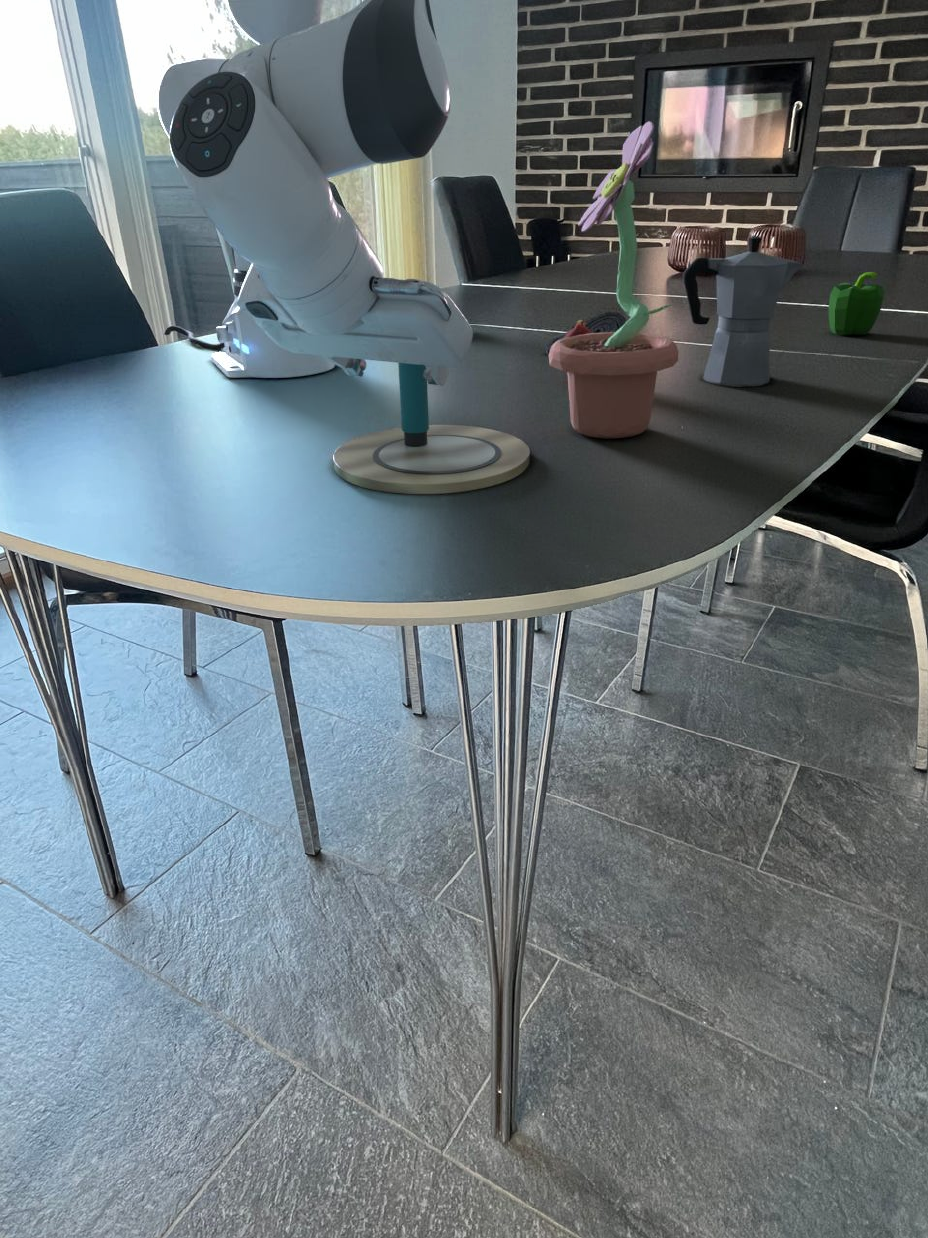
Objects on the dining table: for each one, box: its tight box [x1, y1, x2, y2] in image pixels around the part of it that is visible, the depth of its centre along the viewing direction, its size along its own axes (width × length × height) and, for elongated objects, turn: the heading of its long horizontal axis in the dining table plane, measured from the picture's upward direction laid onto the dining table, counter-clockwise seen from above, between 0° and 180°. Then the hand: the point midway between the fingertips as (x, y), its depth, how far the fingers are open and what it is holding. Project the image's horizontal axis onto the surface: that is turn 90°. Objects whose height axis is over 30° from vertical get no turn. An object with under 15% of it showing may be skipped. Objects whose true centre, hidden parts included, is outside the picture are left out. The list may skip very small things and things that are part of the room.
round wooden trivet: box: [332, 424, 531, 495], centre depth 85 cm, size 20×20×1 cm
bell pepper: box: [828, 271, 885, 337], centre depth 141 cm, size 8×8×10 cm
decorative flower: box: [548, 120, 679, 440], centre depth 88 cm, size 15×14×30 cm
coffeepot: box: [682, 235, 803, 388], centre depth 111 cm, size 15×9×18 cm, turn 92°
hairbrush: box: [545, 307, 627, 357], centre depth 140 cm, size 8×4×25 cm
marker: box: [397, 363, 430, 447], centre depth 84 cm, size 3×3×12 cm
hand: (398, 374), depth 81 cm, fingers open, 8 cm apart
